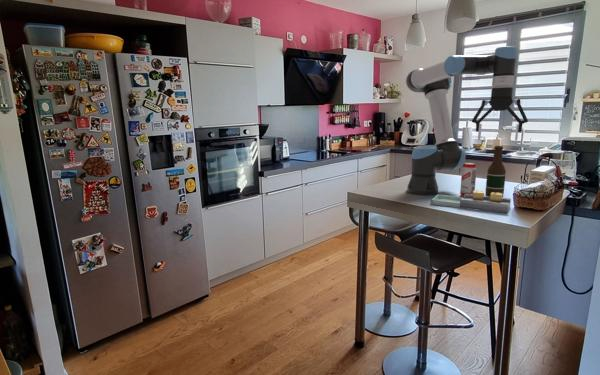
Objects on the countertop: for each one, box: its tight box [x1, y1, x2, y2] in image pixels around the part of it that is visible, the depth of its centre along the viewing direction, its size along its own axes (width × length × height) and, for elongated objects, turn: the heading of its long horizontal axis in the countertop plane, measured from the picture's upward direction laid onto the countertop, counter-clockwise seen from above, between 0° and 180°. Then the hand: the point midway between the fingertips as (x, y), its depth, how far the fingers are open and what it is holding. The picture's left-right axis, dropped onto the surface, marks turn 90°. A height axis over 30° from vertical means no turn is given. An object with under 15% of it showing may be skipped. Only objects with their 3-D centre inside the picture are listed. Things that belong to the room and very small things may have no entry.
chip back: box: [472, 190, 485, 201], centre depth 156 cm, size 4×4×4 cm
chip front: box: [490, 192, 504, 203], centre depth 152 cm, size 4×4×4 cm
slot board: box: [460, 194, 512, 214], centre depth 155 cm, size 18×11×4 cm, turn 56°
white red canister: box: [459, 161, 477, 197], centre depth 172 cm, size 6×6×16 cm
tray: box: [430, 193, 464, 209], centre depth 163 cm, size 12×12×2 cm
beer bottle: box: [484, 145, 507, 198], centre depth 169 cm, size 8×8×24 cm
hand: (497, 140), depth 151 cm, fingers open, 13 cm apart
